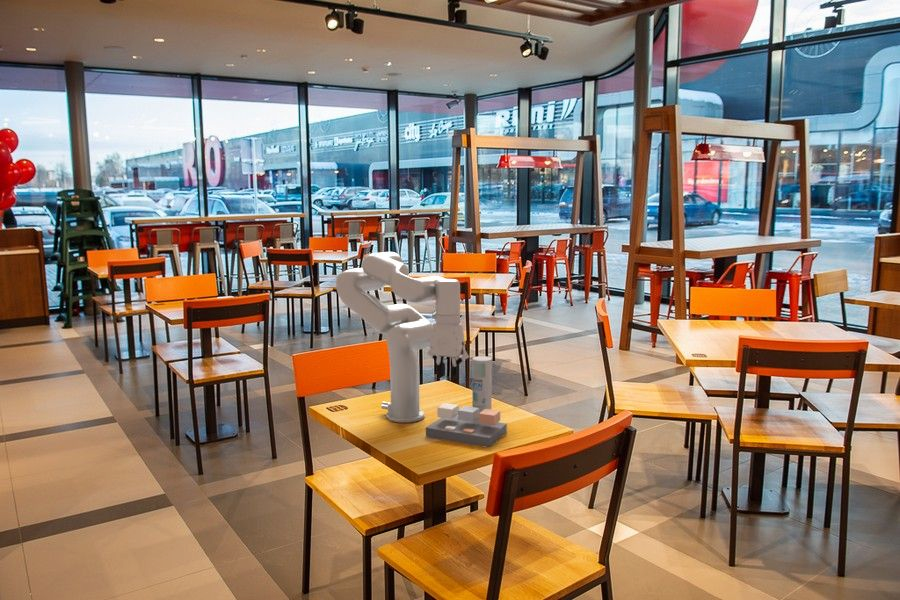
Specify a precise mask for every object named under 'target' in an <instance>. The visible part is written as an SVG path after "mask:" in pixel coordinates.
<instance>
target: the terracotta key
mask: <svg viewBox="0 0 900 600" xmlns="http://www.w3.org/2000/svg"><path fill="white" fill-rule="evenodd" d="M500 421H501V410H496V409H491V410H490V409H484V410H483V411H481V412H480V413H479V423H483V424H490V425H495V424H496V423H498V422H500Z"/></svg>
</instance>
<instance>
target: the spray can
mask: <svg viewBox="0 0 900 600" xmlns="http://www.w3.org/2000/svg"><path fill="white" fill-rule="evenodd" d="M471 361H472V362H471V363H472V364H471V366H472V367H471V375H472V377H471V378H472V381H471V382H472V385H471V386H472V389H471V392H472V393H471V394H472V397H471V398H472V407H476V408H479V413H480V412H481V411H483V410H484V409H490V410H492V394H493V393H492V392H493V391H492V390H493V384H492V382H493V358H492V357H490V356H487V355H486V356H485V355H484V356H483V355H481V356H479V355H478V356H474V357H472V359H471ZM478 419H479V418H478Z"/></svg>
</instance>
